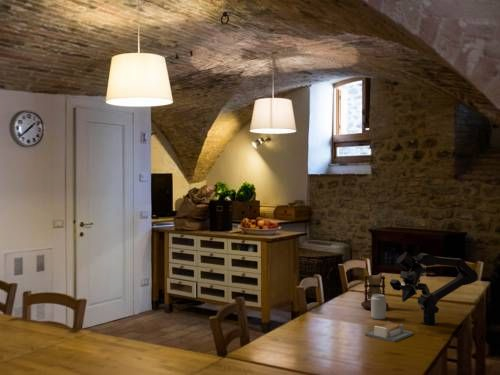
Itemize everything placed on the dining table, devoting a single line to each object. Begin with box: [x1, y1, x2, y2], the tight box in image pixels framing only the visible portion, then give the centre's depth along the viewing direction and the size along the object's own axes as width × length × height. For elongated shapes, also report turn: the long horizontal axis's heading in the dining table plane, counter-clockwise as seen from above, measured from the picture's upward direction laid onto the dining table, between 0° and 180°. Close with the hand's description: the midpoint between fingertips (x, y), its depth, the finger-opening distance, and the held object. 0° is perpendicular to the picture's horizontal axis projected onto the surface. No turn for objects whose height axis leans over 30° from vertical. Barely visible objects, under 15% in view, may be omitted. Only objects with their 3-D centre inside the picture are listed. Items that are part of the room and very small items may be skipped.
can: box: [370, 293, 387, 320], centre depth 281 cm, size 8×8×12 cm
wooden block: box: [381, 322, 400, 332], centre depth 250 cm, size 1×5×11 cm
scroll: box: [361, 271, 389, 311], centre depth 302 cm, size 15×15×20 cm
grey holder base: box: [364, 321, 414, 343], centre depth 250 cm, size 17×15×5 cm
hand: (403, 301), depth 259 cm, fingers closed
